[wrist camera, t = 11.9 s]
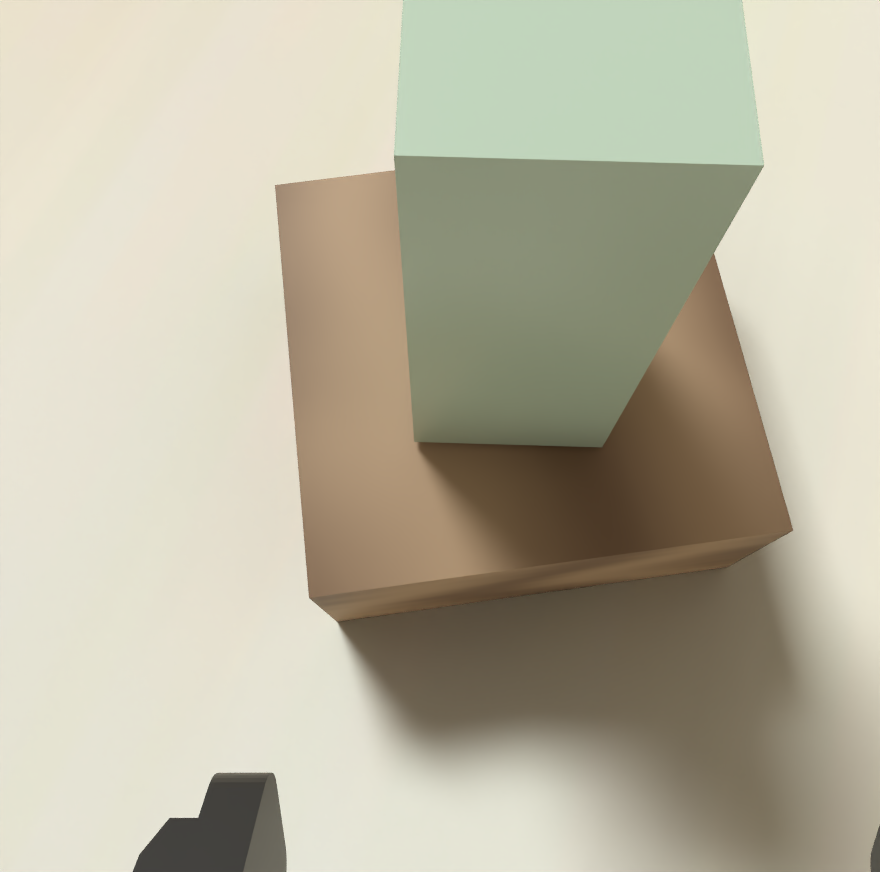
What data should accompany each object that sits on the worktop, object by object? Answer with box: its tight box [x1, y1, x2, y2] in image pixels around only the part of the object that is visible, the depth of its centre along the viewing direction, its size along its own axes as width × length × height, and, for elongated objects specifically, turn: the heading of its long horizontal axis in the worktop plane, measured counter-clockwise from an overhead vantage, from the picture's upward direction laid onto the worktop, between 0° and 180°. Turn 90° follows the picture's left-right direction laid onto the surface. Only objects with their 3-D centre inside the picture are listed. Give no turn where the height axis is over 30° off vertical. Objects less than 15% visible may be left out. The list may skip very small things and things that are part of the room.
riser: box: [275, 170, 793, 622], centre depth 22 cm, size 11×11×5 cm
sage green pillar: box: [394, 0, 764, 447], centre depth 15 cm, size 4×4×10 cm
